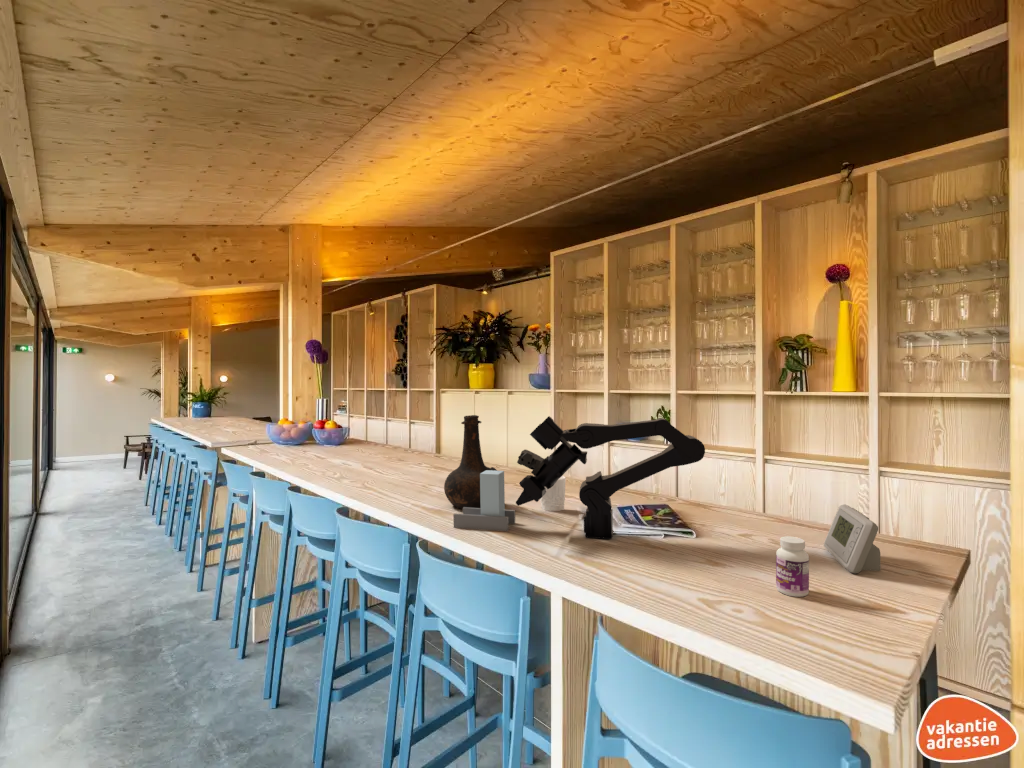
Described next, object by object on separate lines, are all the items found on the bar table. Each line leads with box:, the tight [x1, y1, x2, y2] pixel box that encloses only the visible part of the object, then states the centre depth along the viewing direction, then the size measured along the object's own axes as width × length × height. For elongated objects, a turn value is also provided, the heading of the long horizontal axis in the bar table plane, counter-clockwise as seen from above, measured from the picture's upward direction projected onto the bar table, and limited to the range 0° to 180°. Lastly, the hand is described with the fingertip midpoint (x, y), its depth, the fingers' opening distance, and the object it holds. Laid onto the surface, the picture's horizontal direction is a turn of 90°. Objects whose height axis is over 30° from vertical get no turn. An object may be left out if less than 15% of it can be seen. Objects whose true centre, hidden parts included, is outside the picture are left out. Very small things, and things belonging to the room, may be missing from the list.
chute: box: [453, 507, 516, 532], centre depth 140 cm, size 14×8×4 cm, turn 74°
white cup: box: [539, 475, 567, 512], centre depth 157 cm, size 8×8×10 cm
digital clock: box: [823, 504, 881, 574], centre depth 112 cm, size 16×9×11 cm, turn 155°
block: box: [480, 470, 506, 516], centre depth 140 cm, size 5×5×14 cm
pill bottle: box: [775, 535, 810, 598], centre depth 98 cm, size 5×5×10 cm
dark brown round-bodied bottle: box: [443, 414, 498, 510], centre depth 162 cm, size 18×18×28 cm
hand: (517, 504), depth 138 cm, fingers closed
